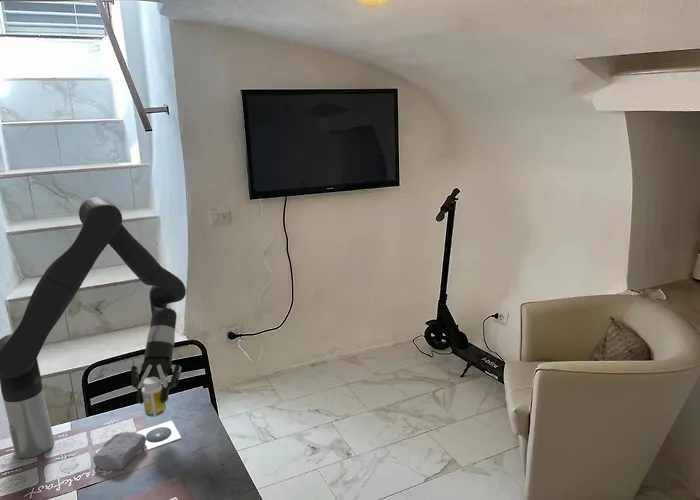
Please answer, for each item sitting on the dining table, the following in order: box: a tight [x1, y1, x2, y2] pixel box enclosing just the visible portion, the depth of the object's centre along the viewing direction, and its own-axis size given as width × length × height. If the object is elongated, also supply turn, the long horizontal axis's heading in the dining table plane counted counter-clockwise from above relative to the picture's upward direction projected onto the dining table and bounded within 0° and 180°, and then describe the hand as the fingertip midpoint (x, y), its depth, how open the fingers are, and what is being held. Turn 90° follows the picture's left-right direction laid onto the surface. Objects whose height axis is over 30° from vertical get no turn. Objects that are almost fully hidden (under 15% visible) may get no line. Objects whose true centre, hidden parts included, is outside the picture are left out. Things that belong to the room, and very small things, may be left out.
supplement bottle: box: [142, 377, 167, 418], centre depth 149 cm, size 6×6×10 cm
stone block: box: [92, 431, 146, 471], centre depth 143 cm, size 12×5×10 cm
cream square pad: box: [136, 420, 182, 452], centre depth 152 cm, size 10×10×1 cm
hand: (151, 402), depth 147 cm, fingers closed on supplement bottle, 5 cm apart
